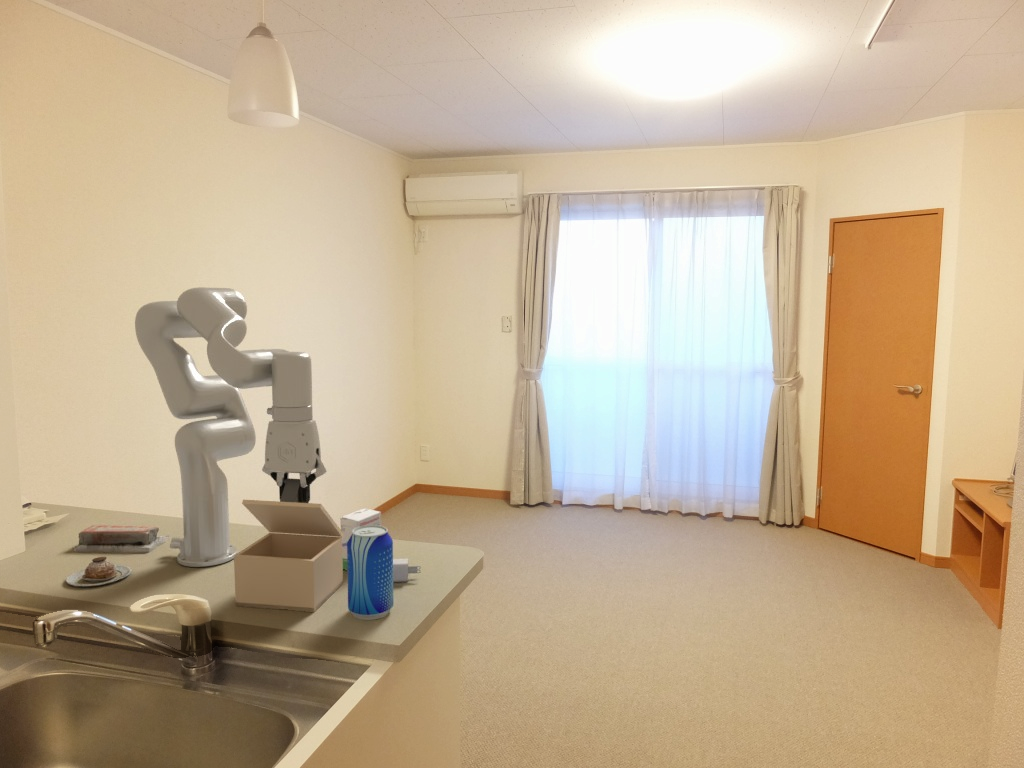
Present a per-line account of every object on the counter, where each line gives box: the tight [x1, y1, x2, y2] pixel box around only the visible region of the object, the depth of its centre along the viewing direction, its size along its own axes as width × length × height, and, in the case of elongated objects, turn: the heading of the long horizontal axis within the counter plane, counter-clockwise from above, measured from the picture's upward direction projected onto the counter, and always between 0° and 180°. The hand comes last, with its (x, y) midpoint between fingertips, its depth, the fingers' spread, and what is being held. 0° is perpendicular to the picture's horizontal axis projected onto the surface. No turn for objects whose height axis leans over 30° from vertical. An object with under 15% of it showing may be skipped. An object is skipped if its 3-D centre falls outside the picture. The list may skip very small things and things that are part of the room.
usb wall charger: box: [393, 558, 421, 583], centre depth 152 cm, size 4×7×4 cm, turn 97°
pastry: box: [65, 556, 132, 588], centre depth 151 cm, size 12×12×5 cm
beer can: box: [346, 525, 394, 621], centre depth 135 cm, size 8×8×16 cm
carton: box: [233, 532, 344, 613], centre depth 143 cm, size 16×14×10 cm
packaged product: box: [73, 524, 170, 553], centre depth 171 cm, size 18×5×10 cm
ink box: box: [340, 508, 382, 571], centre depth 159 cm, size 8×5×12 cm, turn 152°
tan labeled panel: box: [241, 478, 343, 537], centre depth 145 cm, size 16×14×7 cm
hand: (295, 503), depth 144 cm, fingers closed on tan labeled panel, 3 cm apart
